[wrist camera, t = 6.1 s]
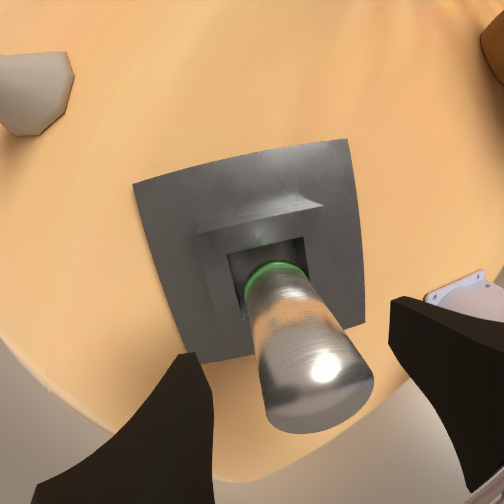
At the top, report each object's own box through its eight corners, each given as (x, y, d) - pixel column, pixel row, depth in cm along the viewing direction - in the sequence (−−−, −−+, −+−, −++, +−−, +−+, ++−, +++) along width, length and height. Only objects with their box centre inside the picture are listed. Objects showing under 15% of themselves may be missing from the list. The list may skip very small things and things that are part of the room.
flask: (13, 75, 12) (-62, 54, 3) (78, 40, 13) (7, -12, 3) (11, 150, 14) (-77, 156, 5) (76, 119, 15) (-21, 98, 5)
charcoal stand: (341, 139, 17) (369, 134, 13) (360, 316, 21) (382, 342, 17) (137, 183, 17) (114, 187, 13) (194, 357, 21) (190, 391, 17)
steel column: (302, 252, 14) (379, 341, 6) (310, 309, 15) (371, 414, 7) (236, 267, 13) (252, 377, 6) (251, 324, 14) (273, 444, 7)
